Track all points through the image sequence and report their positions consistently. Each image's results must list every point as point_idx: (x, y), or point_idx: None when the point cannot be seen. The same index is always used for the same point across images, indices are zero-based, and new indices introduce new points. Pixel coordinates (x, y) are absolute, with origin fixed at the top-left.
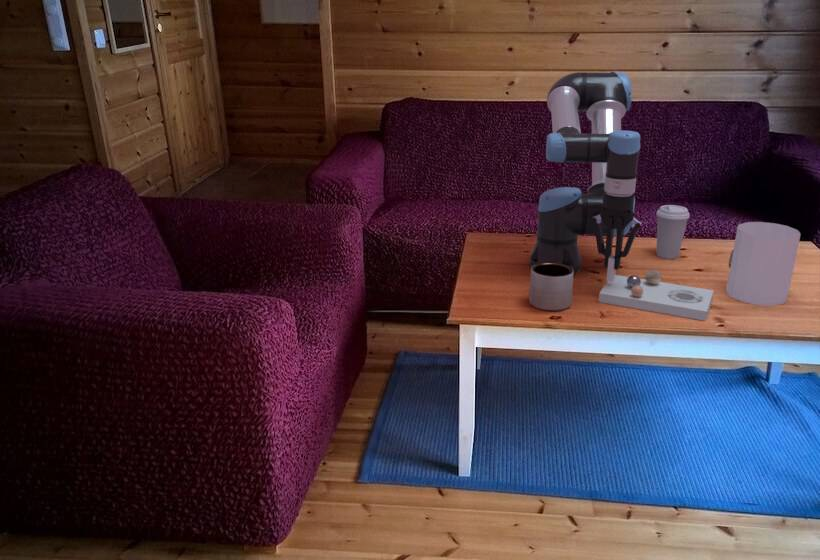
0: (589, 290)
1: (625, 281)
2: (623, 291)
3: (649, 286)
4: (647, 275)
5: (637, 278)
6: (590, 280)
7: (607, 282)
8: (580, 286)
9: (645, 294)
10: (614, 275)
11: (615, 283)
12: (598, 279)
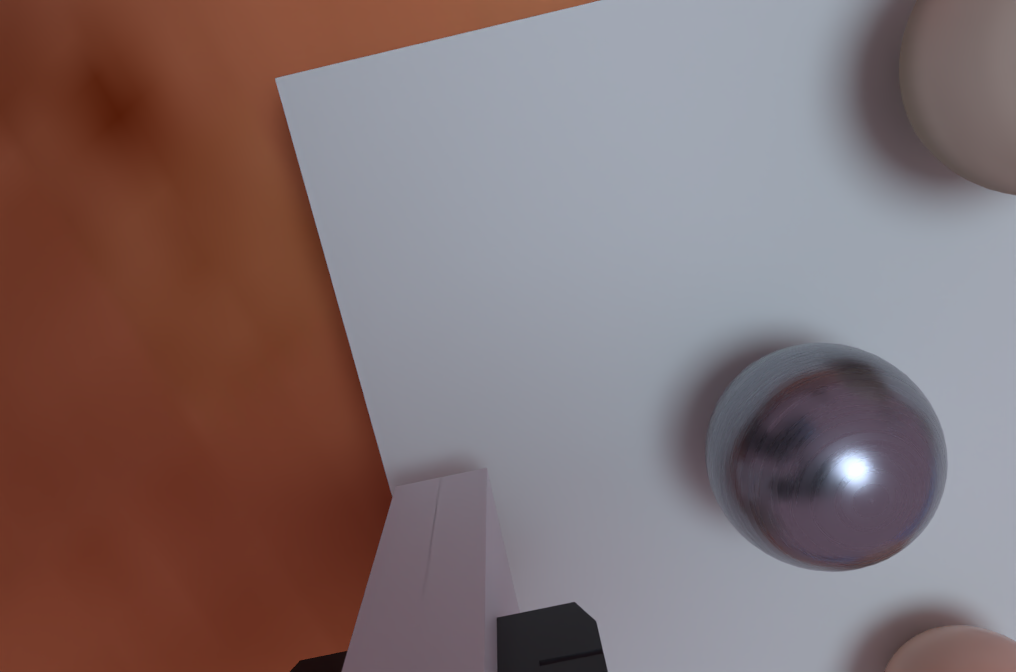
0: (225, 528)
1: (586, 247)
2: (720, 616)
3: (968, 206)
4: (1003, 168)
5: (928, 510)
6: (27, 200)
7: (389, 462)
8: (62, 483)
9: (1008, 531)
10: (493, 528)
11: (500, 421)
12: (87, 85)
